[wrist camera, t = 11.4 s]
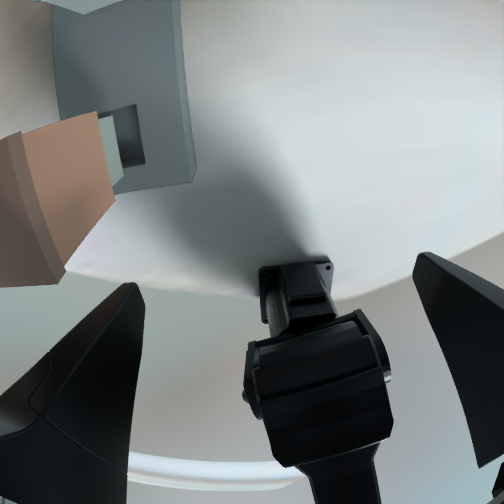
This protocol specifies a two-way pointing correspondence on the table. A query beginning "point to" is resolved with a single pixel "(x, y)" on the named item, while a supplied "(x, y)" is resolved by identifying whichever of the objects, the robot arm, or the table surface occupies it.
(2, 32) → the table surface
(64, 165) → the brown rectangular block
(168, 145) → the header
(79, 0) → the grey plug
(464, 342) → the robot arm
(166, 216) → the table surface
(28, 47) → the table surface
